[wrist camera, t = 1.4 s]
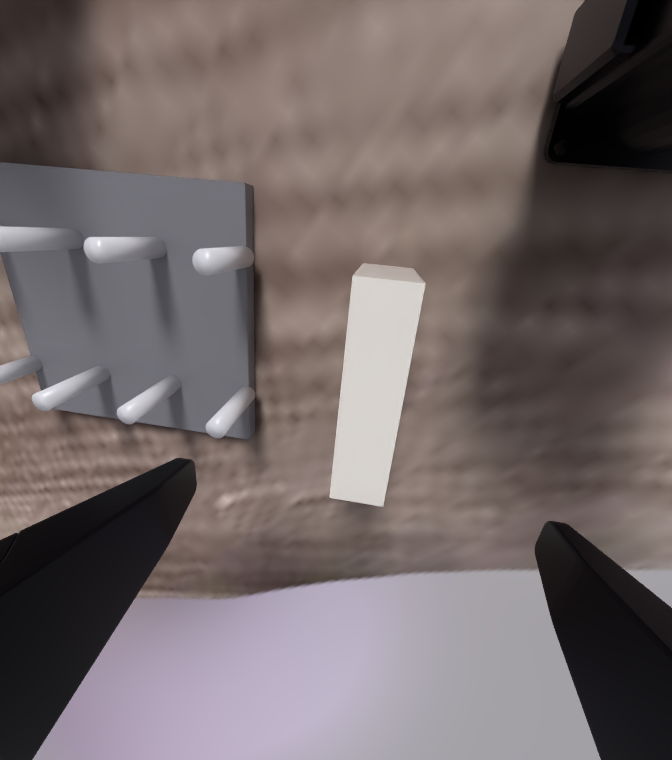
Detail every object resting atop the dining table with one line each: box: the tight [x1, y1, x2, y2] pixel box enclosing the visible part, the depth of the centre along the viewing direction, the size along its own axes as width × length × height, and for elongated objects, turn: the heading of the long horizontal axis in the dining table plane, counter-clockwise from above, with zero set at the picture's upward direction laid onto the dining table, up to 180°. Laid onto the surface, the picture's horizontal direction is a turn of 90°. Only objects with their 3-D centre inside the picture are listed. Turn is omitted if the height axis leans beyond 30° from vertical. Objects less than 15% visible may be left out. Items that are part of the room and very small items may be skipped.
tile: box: [330, 263, 426, 507], centre depth 16 cm, size 2×10×6 cm, turn 175°
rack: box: [0, 162, 255, 440], centre depth 17 cm, size 15×14×5 cm
